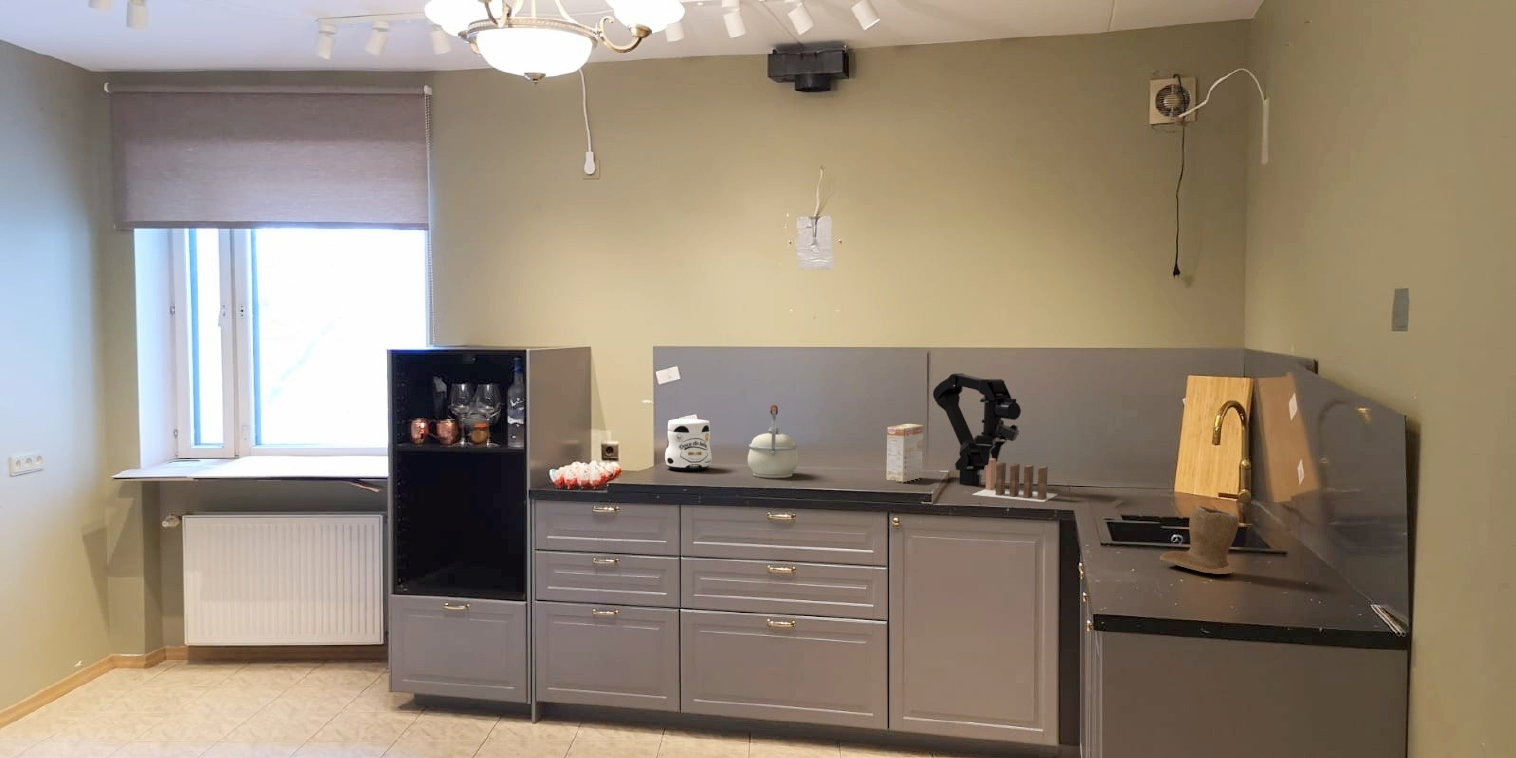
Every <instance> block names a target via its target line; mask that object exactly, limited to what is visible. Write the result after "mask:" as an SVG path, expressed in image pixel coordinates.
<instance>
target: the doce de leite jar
mask: <svg viewBox="0 0 1516 758" xmlns="http://www.w3.org/2000/svg"><path fill="white" fill-rule="evenodd" d="M710 425H711V424H710V420H707V419H698V418H697V419H695V418H694V419H693V418H682V419H681V418H678V419H670V420H668V423H667V447H666V449H665V454H664V459H665V465H666V466H667V467H668V468H670V469H673V470H676V471H677V470H679V471H699V470H705V469H707V468H709V467H710V466H711V464H712V459H713V453H712V450H711V444H710V437H711V432H710V430H711V426H710Z"/></svg>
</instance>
